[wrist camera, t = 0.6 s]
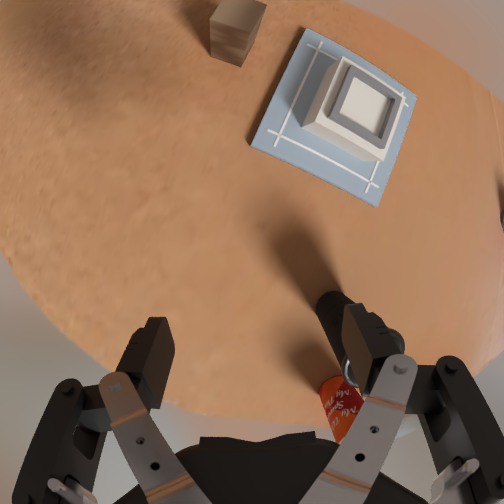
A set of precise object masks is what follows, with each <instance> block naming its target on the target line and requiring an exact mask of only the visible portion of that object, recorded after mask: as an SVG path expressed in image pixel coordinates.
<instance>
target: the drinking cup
mask: <svg viewBox="0 0 504 504" xmlns="http://www.w3.org/2000/svg"><path fill="white" fill-rule="evenodd" d="M347 304H355V302H353V301H352V300H351V299H349V298H348V297H347V296H345V295H344V294H342V293H341V292H338V291H331V292H328V293H326V294H324V295H323V296H322V297H321V298H320V299H319V300H318V302H317V305H316V314H317V316H318V318H319V320H320V323H321V325H322V327H323V329H324V331H325V333H326V336H327V338H328V340H329V342H330V344H331V347H332V349H333V351H334V353H335V355H336V358H337V360H338V362H339V364H340V366H341V374H342V377H343V379H344V381H345V382H346V383H347V384H348V385H350V386H352V387H355V388H359V387H358V384H357V382H356V379H355V376H354V373H353V370H352V368H351V365H350V362H349V360H348V357H347V354H346V351H345V349H344V346H343V343H342V336H341V332H342V324H343V315H344V307H345V305H347ZM386 327H387V326H386ZM387 329H388V330H389V333H390V334H391V335H392V337H393V339H394V341H395V342H396V344H397V346H398V348H399V349H400V351H401V353H402V354H403V355H404V350H405V343H404V339H403V337H402V336H401V334H400V333H399V332H397V331H396V330H394V329H391V328H388V327H387Z"/></svg>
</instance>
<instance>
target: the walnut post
mask: <svg viewBox="0 0 504 504" xmlns="http://www.w3.org/2000/svg"><path fill="white" fill-rule="evenodd" d="M266 6H267V5H266V4H264V3H261V2H258V1H255V0H222V1H221V3H220V4H219V6H218V7H217V9H216V10H215V12H214V13H213V15H212V16H211V18H210V51H211V57H213V58H216V59H219V60H222V61H225V62H228V63H231V64H233V65H236V66H239V67H241V66H242V64H243V62H244V61H245V59H246V57H247V55H248V53H249V51H250V49H251V47H252V46H253V44H254V41H255V38H256V35H257V32H258V29H259V26H260V23H261V20H262V17H263V14H264V12H265V9H266Z"/></svg>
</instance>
